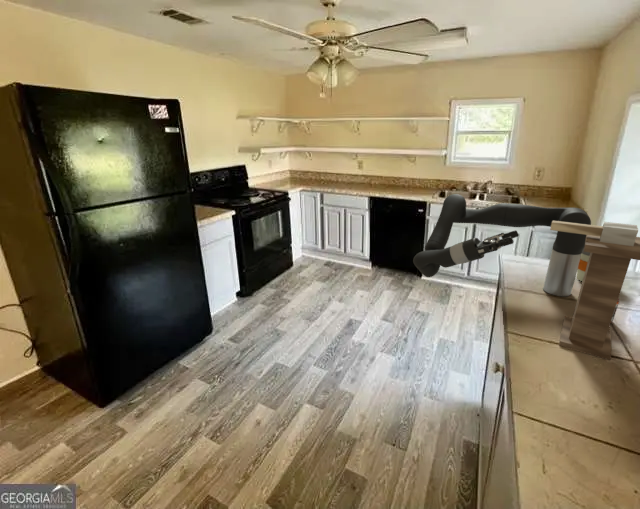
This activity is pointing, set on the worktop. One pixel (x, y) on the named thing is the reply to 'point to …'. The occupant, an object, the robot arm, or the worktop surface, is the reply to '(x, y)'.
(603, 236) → the grey and beige bar
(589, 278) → the stand
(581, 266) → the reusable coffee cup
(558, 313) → the worktop surface
